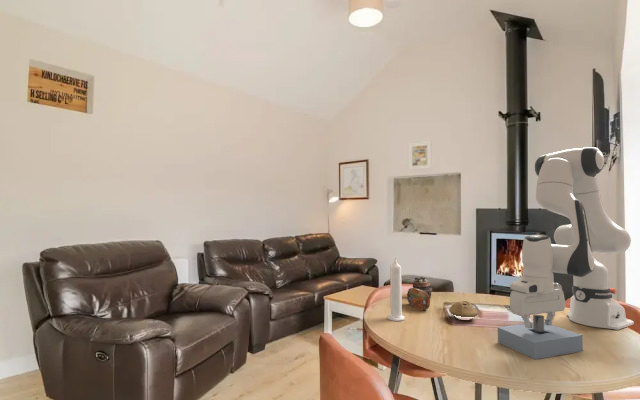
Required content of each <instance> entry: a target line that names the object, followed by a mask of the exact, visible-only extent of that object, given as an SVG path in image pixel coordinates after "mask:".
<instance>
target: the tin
mask: <svg viewBox="0 0 640 400" xmlns="http://www.w3.org/2000/svg"><path fill="white" fill-rule="evenodd" d="M406 296H407V297H406V298H407V302H408V304H409V306H411V307H413V308H415V309H417V310H420V311H427V310H428V309H429V308H430V306H431V298H430V297H429V295H428V293H427V292H425V291H422V290H419V289H417V288H413V287H410V288H409V289H408V290H407V293H406Z"/></svg>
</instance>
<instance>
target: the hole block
mask: <svg viewBox="0 0 640 400" xmlns="http://www.w3.org/2000/svg"><path fill="white" fill-rule="evenodd" d="M531 323H532V324H533V322H531ZM532 326H533V325H532ZM583 338H584V337H583V335H582V334H580V333H577V332H574V331H571V330H568V329H565V328H563V327H559V326H557V325H554V324H553V325H549V326H548V325H545V321H544V334H538V333H535V332H533V327H532V328H526V327H525V326H524V323H522V324H520V323H519V324H513V325H507V326H506V325H505V326H498V327H497V342H498V343H499V344H501V345H503V346H505V347H508V348H510V349H512V350H514V351H515V352H517V353H520V354H522V355H525V356H527V357H528V358H530V359H533V360H538V359H539V360H540V359H545V358H546V359H547V358H549V357H550V358H551V357H556V356H561V355H568V354H573V353H574V354H575V353H579V352H583V351H584V350H583V349H584V347H583V345H584V344H583Z"/></svg>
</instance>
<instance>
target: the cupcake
mask: <svg viewBox="0 0 640 400" xmlns="http://www.w3.org/2000/svg"><path fill="white" fill-rule="evenodd" d="M412 288H417V289H419V290H422V291H425V292H427V293H428V295H429V297H430V299H431V298H432V291H433V287H431V283H430V282H429V281H428V280H427V279H426V278H425V277H420V278H419V277H415V278H414V280H413V282H412Z"/></svg>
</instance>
